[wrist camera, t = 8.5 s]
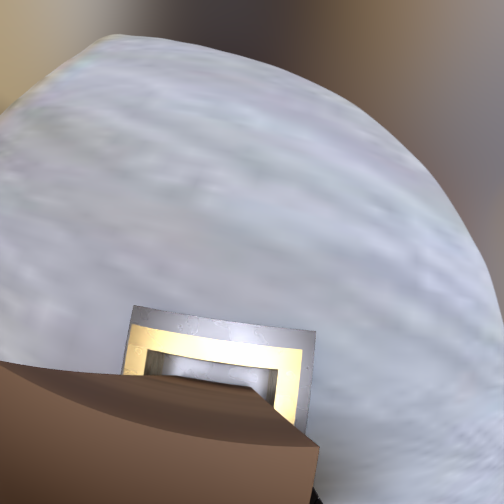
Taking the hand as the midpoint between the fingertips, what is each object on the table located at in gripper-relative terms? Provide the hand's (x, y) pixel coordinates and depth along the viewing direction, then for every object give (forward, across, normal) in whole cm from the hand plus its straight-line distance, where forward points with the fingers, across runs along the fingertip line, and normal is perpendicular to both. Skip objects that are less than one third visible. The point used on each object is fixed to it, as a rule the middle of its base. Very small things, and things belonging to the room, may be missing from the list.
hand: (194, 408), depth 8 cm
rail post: (+4, 0, +6) cm, 7 cm away
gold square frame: (+5, 0, +7) cm, 9 cm away
